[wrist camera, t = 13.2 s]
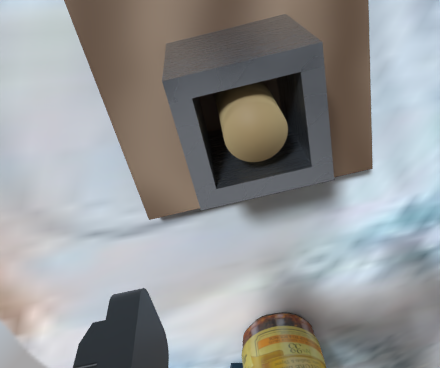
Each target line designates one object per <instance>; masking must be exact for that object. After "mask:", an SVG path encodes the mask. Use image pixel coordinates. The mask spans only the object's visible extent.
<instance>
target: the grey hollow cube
mask: <svg viewBox="0 0 440 368" xmlns="http://www.w3.org/2000/svg"><path fill="white" fill-rule="evenodd" d="M274 78H277V83H278V90H279V96H280V103H281V110H282V114H283V115H284V117H285V119H286V122H287V126H288V134H287V138H286V141H285V143H284V145H283V147H282V148H281V149H280V150H279V152H277V153H276V154H275V155H274V156H272V157H271V158H269V159H266V160H263V161H259V162H247V161H243V160H240V159H238V158H236V157H235V156H234V155H232V154H231V153H230V151H229V150H228V149H227V147H226V145H225V141H224V137H223V132H222V129H218V130H214V131H210V132H208V130H207V126H206V123H205V119H204V115H203V111H202V107H201V103H200V99H199V97H200V96H204V95H208V94H212V93H216V92H220V91H224V90H228V89H232V88H237V87H241V86H245V85H249V84H253V83H257V82H261V81H265V80H269V79H274ZM162 83H163V86H164V90H165V93H166V96H167V99H168V103H169V106H170V109H171V113H172V116H173V119H174V123H175V126H176V129H177V133H178V136H179V139H180V143H181V146H182V149H183V152H184V156H185V159H186V162H187V166H188V169H189V172H190V176H191V179H192V182H193V186H194V189H195V192H196V196H197V199H198V202H199V206H200V209H201V210H205V209H209V208H214V207H218V206H222V205H227V204H231V203H235V202H240V201H244V200H248V199H253V198H257V197H261V196H266V195H270V194H274V193H279V192H283V191H287V190H292V189H296V188H300V187H305V186H309V185H313V184H318V183H322V182H326V181H331V180H334V171H333V159H332V147H331V136H330V124H329V112H328V100H327V89H326V77H325V65H324V54H323V42H322V41H321V40H319V39H318V38H317V37H315V36H314V35H313V34H312V33H310V32H309V31H308V30H306V29H305V28H304V27H302V26H301V25H300V24H299V23H297V22H296V21H295V20H293V19H292V18H291V17H290V16H288V15H287V14H283V15H279V16H275V17H271V18H267V19H263V20H259V21H255V22H251V23H247V24H243V25H239V26H235V27H231V28H227V29H223V30H219V31H215V32H211V33H207V34H203V35H199V36H195V37H191V38H187V39H183V40H179V41H175V42H171V43H167V44H166V50H165V59H164V68H163V77H162Z"/></svg>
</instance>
